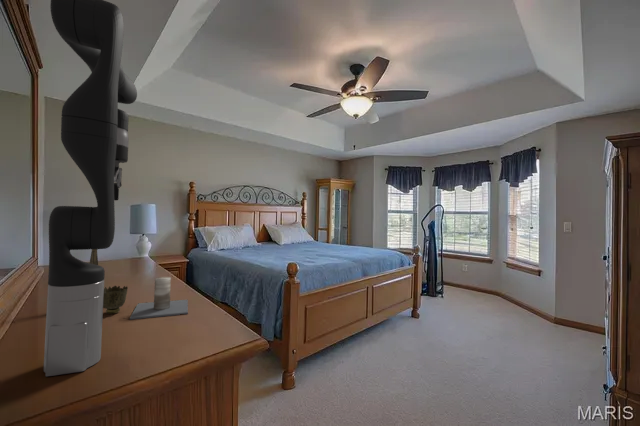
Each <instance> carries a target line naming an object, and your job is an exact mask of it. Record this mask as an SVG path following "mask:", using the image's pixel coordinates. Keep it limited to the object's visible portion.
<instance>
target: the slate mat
mask: <svg viewBox="0 0 640 426" xmlns="http://www.w3.org/2000/svg"><path fill="white" fill-rule="evenodd" d="M188 304H189V300H188V299H180V300H179V299H177V300H170V308H168V309H164V310H155V309H154V301H151V302H150V301H149V302H141V303H137V305H136V306H135V308H134V310H133V312H132V313H131V315H130V317H129V320H130V321H131V320H138V319H139V320H141V319H142V320H143V319H149V318H151V319H152V318H161V317H171V316H181V315H180V314H184V315H189V312H188V311H189V309H188V306H189V305H188Z"/></svg>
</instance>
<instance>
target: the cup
mask: <svg viewBox="0 0 640 426" xmlns="http://www.w3.org/2000/svg"><path fill="white" fill-rule="evenodd" d="M127 294H128V285H126V286H125V285H124V286H123V287H121V286H120V285H118V286H117V285H113V286H112V287H111V286H108V288H107V287H106V286H104V296H103V309H105V312H106V314H108V315H114V314H118V313H119V312H120V311H121V307H123V305H124V304H126V299H127Z"/></svg>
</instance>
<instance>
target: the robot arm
mask: <svg viewBox="0 0 640 426" xmlns="http://www.w3.org/2000/svg"><path fill="white" fill-rule="evenodd" d="M49 7H50V16H51V19H52V22H53V26H54V29H55V30H56V32H57V33H58V34H59V36H60V38H62V40H63V41H64V42H65V43H66V44H67V45H68V46H69V48H71V49H72V50H73V52H74V53H76V54H77V56H78V57H80V59H81V60H82V61H83V62H84V63H85V64H86V66H87V67H88V68H89V70H90V72H91V73H90V75H88V77H87V78H86V79H85V81H83V82H82V83H81V84H80V86H79V87H77V88H76V89H75V90H74V91H73V92H72V93H71V94H70V96H68V98H67V99H66V100H65V102H64V103H63V105H62V108H61V116H60V117H61V122H60V124H61V125H60V140H61V143H62V146H63V148H64V149H65V150H66V152H67V154H68V155H69V157H70V158H71V159H72V160H73V162H74V163H75V165H76V166H77V167H78V169H79V170H80V171H81V173H82V174H83V175H84V177H85V179H86V180H87V182H88V184H89V186H90V188H91V189H92V191H93V194H94V196H95V200H96V203H97V204H96V205H97V206H81V205H79V206H78V205H77V206H76V205H74V206H73V205H59V206H55V207H54V208H53V209H52V210H51V212H50V213H49V214H50V215H49V220H48V249H49V250H48V253H49V255H48V256H49V257H48V258H49V259H48V281H47V298H46V314H45V315H46V317H45V318H46V319H45V331H44V333H45V334H44V355H43V357H44V358H43V372H44V373H45V377H52V376H54V377H55V376H59V375H66V374H73V373H80V372H84V371H86V370H87V369H88V368H90V367H92V366H94V365H96V364H97V363H99V362H100V360H101V357H102V337H103V336H102V333H103V318H104V317H103V314H104V312H103V311H104V307H103V296H104V288H105V271H106V270H105V269H104V267H103V266H101V265H99V264H98V265H95V264H90V262H86V261H83V260H81V259H78V258H77V257H75V256H73V255H72V254H71V251H77V250H81V251H83V250H91V249H97V250H103V249H104V250H105V249H106V250H107V249H109V248H110V247H111V246H112V244H113V242H114V238H115V232H116V230H115V229H116V227H115V226H116V220H115V219H116V217H115V213H116V212H115V201H119V198H120V197H119V195H120V188H121V187H122V177H123V176H122V173H123V172H122V171H123V169H122V167H120V164H121V163H122V164H125V163H127V162H128V159H129V114H128V113H127V112H126V111H124V110H123V109H120V108H118V106H119V105H118V103H119V104H123V105H124V104H125V105H130V104H133V103H135V102H136V100H137V97H138V91H137V88H136V85H135V83H134V82H133V80H132V79H131V78H130V77H129V76H128V75H127V74H126V73H125V72H124V69H123V66H122V64H121V63H122V52H123V46H124V35H125V34H124V32H125V31H124V30H125V28H124V27H125V26H124V25H125V24H124V17H123V14H122V11H121V9H120V8H119V6H118V5H116V4H115V3H112V2H109V1H107V0H50V6H49Z"/></svg>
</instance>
